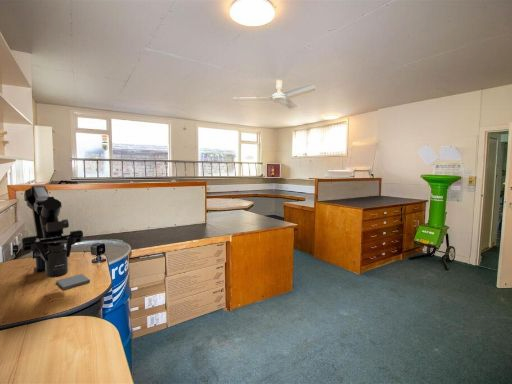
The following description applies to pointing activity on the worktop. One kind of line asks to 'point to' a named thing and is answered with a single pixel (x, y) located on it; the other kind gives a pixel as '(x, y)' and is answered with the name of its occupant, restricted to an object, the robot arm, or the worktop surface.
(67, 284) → the coaster
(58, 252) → the supplement bottle
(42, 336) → the worktop surface
